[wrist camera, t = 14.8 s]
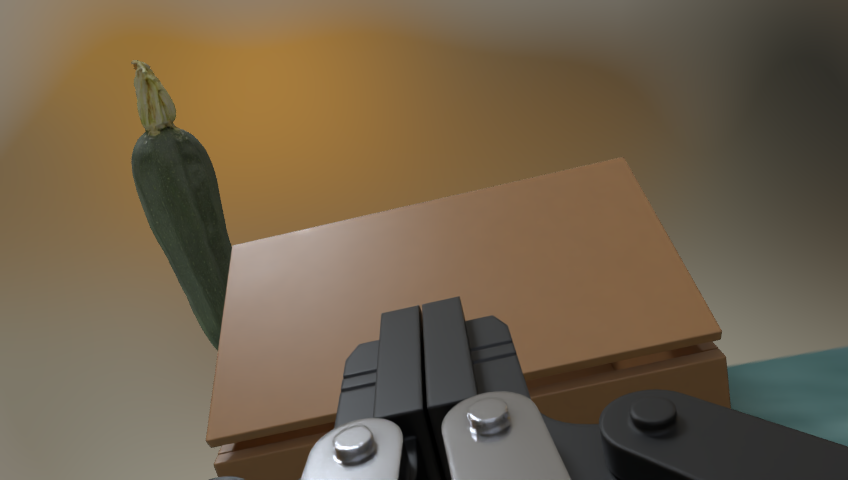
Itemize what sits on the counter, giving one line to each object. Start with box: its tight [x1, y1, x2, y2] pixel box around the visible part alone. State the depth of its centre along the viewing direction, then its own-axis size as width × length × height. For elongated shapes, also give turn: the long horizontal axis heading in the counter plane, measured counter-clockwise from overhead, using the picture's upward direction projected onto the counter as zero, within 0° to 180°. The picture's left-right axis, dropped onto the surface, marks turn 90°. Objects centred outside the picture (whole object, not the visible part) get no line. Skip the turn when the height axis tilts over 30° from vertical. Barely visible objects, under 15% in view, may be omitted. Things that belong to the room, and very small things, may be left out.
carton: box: [214, 341, 731, 480], centre depth 29 cm, size 15×17×8 cm
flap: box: [206, 157, 722, 448], centre depth 23 cm, size 15×8×1 cm, turn 91°
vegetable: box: [131, 60, 232, 351], centre depth 40 cm, size 4×4×20 cm
